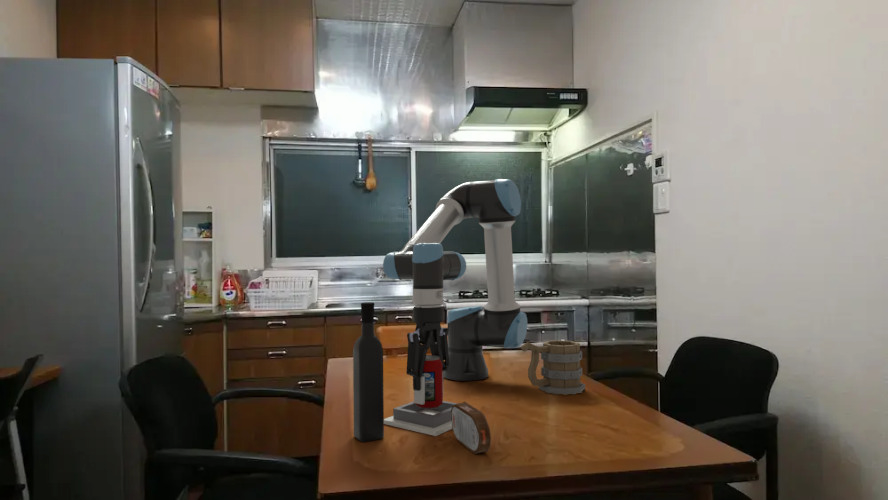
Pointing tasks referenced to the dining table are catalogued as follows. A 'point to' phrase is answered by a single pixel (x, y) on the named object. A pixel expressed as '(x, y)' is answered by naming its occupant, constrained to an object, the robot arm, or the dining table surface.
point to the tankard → (556, 367)
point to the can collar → (422, 418)
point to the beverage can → (432, 382)
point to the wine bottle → (368, 380)
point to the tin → (470, 427)
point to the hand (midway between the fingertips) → (428, 399)
